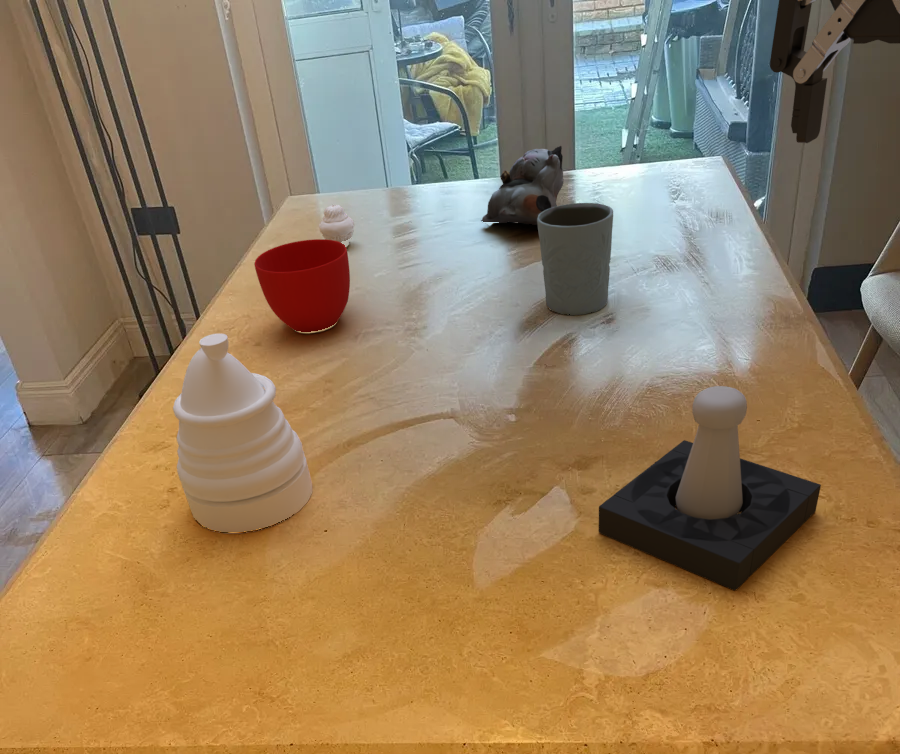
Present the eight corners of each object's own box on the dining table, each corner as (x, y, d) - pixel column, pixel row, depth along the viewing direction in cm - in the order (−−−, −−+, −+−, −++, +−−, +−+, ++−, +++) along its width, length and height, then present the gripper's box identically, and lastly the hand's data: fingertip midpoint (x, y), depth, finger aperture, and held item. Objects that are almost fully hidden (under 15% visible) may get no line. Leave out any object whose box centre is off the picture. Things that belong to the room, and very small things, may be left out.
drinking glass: (573, 323, 114) (572, 231, 107) (525, 304, 121) (520, 216, 113) (627, 300, 118) (630, 209, 111) (577, 283, 125) (577, 196, 117)
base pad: (682, 465, 85) (684, 439, 84) (815, 512, 77) (821, 484, 75) (598, 532, 78) (598, 506, 77) (735, 591, 70) (739, 563, 68)
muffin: (326, 242, 152) (318, 201, 148) (359, 238, 152) (352, 197, 147) (320, 254, 148) (312, 211, 143) (355, 250, 147) (347, 208, 142)
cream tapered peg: (670, 537, 77) (680, 408, 68) (676, 502, 81) (687, 376, 72) (737, 544, 75) (756, 412, 67) (741, 507, 79) (759, 378, 71)
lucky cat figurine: (472, 223, 151) (490, 138, 147) (534, 240, 155) (553, 157, 151) (499, 218, 138) (519, 124, 133) (565, 237, 141) (587, 146, 137)
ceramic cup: (387, 299, 128) (376, 231, 122) (330, 347, 117) (315, 275, 110) (315, 294, 133) (301, 228, 126) (254, 339, 122) (235, 269, 115)
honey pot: (337, 490, 89) (298, 324, 77) (235, 549, 83) (176, 379, 71) (267, 452, 96) (223, 296, 85) (169, 504, 90) (107, 344, 79)
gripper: (1085, -195, 46) (998, 135, 56) (828, -158, 54) (794, 124, 65) (1036, -183, 42) (953, 168, 53) (769, -145, 51) (743, 152, 61)
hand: (866, 144), depth 59 cm, fingers open, 8 cm apart
